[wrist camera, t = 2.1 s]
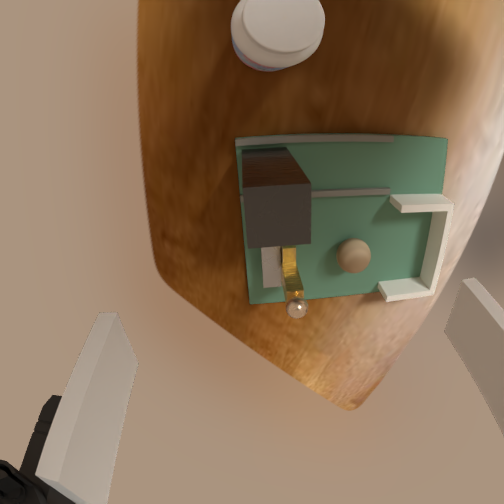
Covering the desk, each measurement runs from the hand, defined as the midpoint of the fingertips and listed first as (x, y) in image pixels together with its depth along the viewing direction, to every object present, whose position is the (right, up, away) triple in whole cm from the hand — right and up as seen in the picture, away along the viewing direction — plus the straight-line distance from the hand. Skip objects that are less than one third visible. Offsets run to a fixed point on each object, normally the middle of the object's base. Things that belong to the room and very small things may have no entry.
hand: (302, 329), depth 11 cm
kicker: (0, +6, +20) cm, 21 cm away
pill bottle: (0, +21, +13) cm, 25 cm away
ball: (+9, +2, +21) cm, 23 cm away
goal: (+15, +4, +23) cm, 28 cm away
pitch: (+8, +6, +22) cm, 24 cm away
